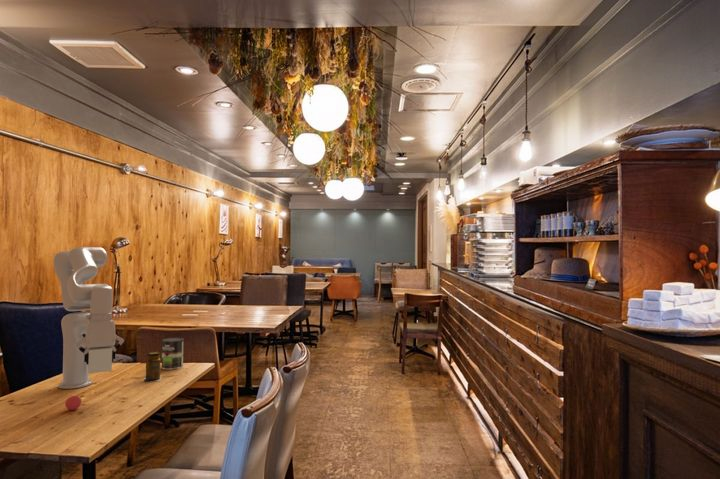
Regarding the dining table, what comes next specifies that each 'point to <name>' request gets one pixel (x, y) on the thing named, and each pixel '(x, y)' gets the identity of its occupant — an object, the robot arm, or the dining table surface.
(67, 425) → the dining table surface
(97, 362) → the matte cream cube
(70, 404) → the ball
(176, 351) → the coffee can
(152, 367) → the condiment
